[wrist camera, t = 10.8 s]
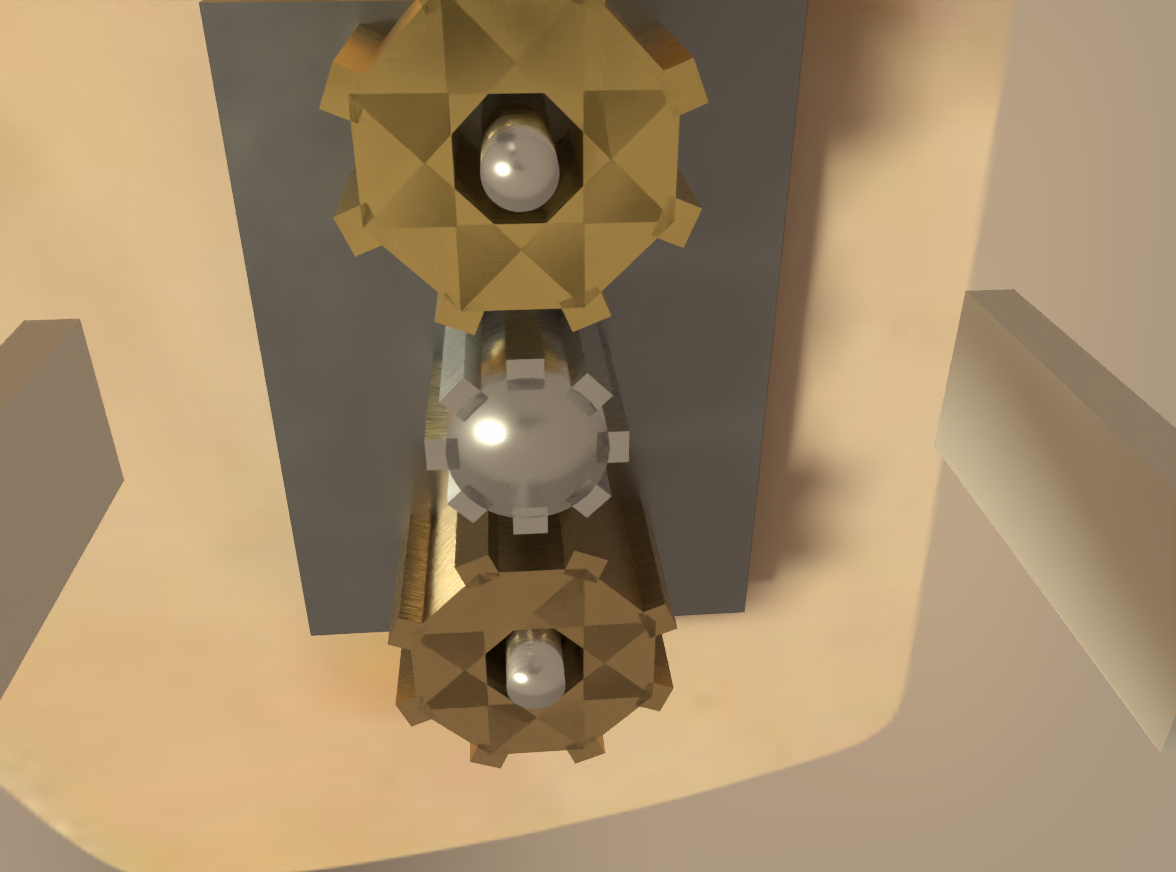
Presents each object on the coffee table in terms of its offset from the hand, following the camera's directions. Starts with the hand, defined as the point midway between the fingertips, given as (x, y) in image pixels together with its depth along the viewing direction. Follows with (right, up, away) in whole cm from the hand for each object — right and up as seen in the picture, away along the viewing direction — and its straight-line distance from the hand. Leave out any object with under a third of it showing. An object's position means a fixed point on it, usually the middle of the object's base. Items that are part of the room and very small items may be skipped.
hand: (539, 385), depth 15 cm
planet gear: (-2, +9, +16) cm, 19 cm away
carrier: (-2, +3, +22) cm, 22 cm away
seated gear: (-2, -6, +25) cm, 26 cm away
